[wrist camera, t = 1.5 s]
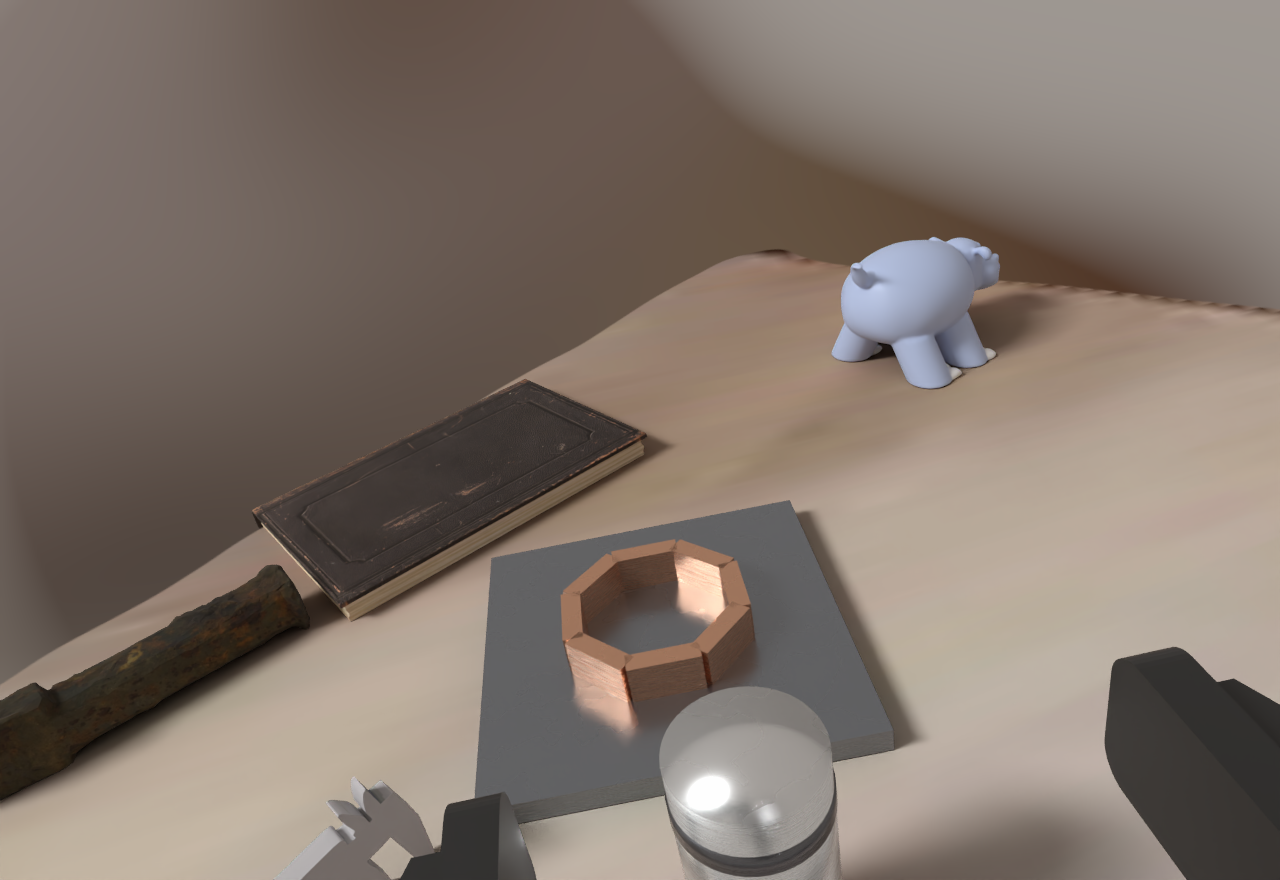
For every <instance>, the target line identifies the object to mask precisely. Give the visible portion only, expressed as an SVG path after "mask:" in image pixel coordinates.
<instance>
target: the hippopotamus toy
mask: <svg viewBox="0 0 1280 880" xmlns="http://www.w3.org/2000/svg"><path fill="white" fill-rule="evenodd" d="M998 259H999V256H998V255H997V254H992V253H991V251H990V249H989V248H987V247H982V246H980V244H979V243H978V242H975V241H973V240H970V239H967V238H955V239H951V240H949V241H947V242H944V241H942V240H940V239H938V238H936V237H932V238H930V239H929V240H913V241H905V242H900V243H896V244H893V245H889V246H887V247H884V248H882V249H880V250H878V251H876V252H874V253H872V254H871V255H869V256H868V257H867V258H865V259H864V260H863V261H861V262H860V263H854V264H853V265H852V266H851V273H850V274H849V276H848V277H847V279H846V281H845V283H844V285H843V288H842V294H841V309H842V315H843V319H844V321H845V323H844V325H843V327H842V330H841V332H840V334H839V336H838V339H837V341H836V343H835V345H834V348H833V350H832V355H833V357H834V358H836V359H838V360H841V361H847V362H856V361H862V360H865V359H868V358H869V357H870V356H871V355H874V354H877V353H878V352H880V351H881V350H882V346H880V345H879V344H878V342H880V343H885V344H890V345H891V346H892V347H893V350H894V352H895V354H896V357H897V359H898V361H899V363H900V366H901V368H902V370H903V373H904V375H905V377H906V379H907V381H908V382H909V383H910V384H912V385H914V386H917V387H920V388H927V389H933V388H940V387H943V386H946V385H948V384H949V383H950V382H951V381H952V380H953V379H955V378H957V377H958V376H960V375H961V374H962V372H961V371H960V370H959V369H958V368H952V367H950V366H949V365H948V364H950V365H952V366H956V367H963V368H972V367H978V366H981V365H983V364H985V363H986V362H987V360H990V359H992V358H994V357H995V355H996V352H995V351H993V350H992V349H990V348H984V347H983V346H982V344H981V341H980V339H979V337H978V334H977V332H976V330H975V327H974V325H973V323H972V320H971V318H970V316H969V313H968V312H967V310H968V309H969V307H970V305H971V302H972V299H973V296H974V291H976V290H980V289H984V288H988V287H990V286H992V285H994V284H996V283H997V282H998V275H999V269H1000V265H999V263H998ZM945 362H946V363H948V364H946V363H945Z"/></svg>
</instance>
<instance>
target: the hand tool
mask: <svg viewBox="0 0 1280 880" xmlns="http://www.w3.org/2000/svg"><path fill="white" fill-rule="evenodd" d="M309 620H310V617H309V616H308V614H307V611H306V607H305V606H304V604H303V601H302V599H301V596H300V594H299V592H298V591H297V589H296V587H295V585H294V583H293V582H292V581H291V579H290V578H289V577H288V575H287V574H286V573H285V571H284V570H283V568H282V567H281V566H279V565H267V566H265V567H264V568H263V569H262V570H261V571H260V572H259V573H258V575H257V576H256V577H255V578H253V579H251V580H249V581H248V582H247V583H246V584H244V585H242V586H240V587H239V588H237V589H236V590H233V591H231V592H229V593H227V594H225V595H223V596H221V597H217V598H215V599H214V600H212V601H211V602H210V603H208V604H206V605H202V606H200V607H198V608H196V609H194V610H193V611H189V612H186V613H184V614H182V615H181V616H177V617H175V619H174V620H173V621H172V622H171V623H170V624H169V626H168V627H165V628H163V629H161V630H159V631H157V632H156V633H154V634H152V635H150V636H148V637H147V638H145V639H143V640H141V641H139V642H137V643H135V644H134V645H132V646H130V647H129V648H127V649H125V650H123V651H121V652H119V653H117V654H115V655H114V656H112V657H110V658H108V659H106V660H104V661H102V662H100V663H98V664H96V665H94V666H92V667H90V668H88V669H86V670H84V671H83V672H81V673H78V674H75V675H73V676H72V677H71V678H69V679H67V680H66V681H62V682H59V683H57V684H55V685H53V686H52V688H51V689H50V690H46V689H44V688H42V687H41V686H39V685H38V684H37V683H32V684H30V685H28V686H26V687H24V688H22V689H19V690H17V691H16V692H14V693H13V694H11V695H9V696H8V697H6V698H5V699H3V700H0V800H2V799H4V798H6V797H8V796H9V795H11V794H13V793H15V792H18V791H20V790H21V789H23V788H25V787H27V786H29V785H31V784H33V783H35V782H37V781H40V780H42V779H44V778H46V777H48V776H50V775H52V774H55V773H57V772H59V771H61V770H63V769H64V768H66V767H67V766H69V765H70V764H71V763H73V761H74V758H75V756H76V753H77V752H78V751H79V750H80V749H81V748H83V747H85V746H86V745H87V744H89V743H90V742H91V741H93V740H94V739H95V738H97V737H99V736H101V735H103V734H104V733H106V732H108V731H109V730H111V729H112V728H114V727H116V726H118V725H120V724H122V723H124V722H126V721H127V720H129V719H131V718H132V717H134V716H136V715H137V714H139V713H141V712H144V711H146V710H149V709H151V708H153V707H154V706H155V705H157V704H158V703H159V702H160V701H161V700H163V699H164V698H166V697H168V696H170V695H172V694H173V693H175V692H177V691H179V690H181V689H182V688H184V687H186V686H188V685H190V684H191V683H193V682H194V681H196V680H198V679H200V678H202V677H204V676H206V675H207V674H209V673H211V672H213V671H215V670H216V669H218V668H220V667H222V666H223V665H225V664H227V663H229V662H230V661H232V660H234V659H236V658H238V657H240V656H241V655H243V654H245V653H247V652H249V651H251V650H252V649H254V648H256V647H258V646H260V645H262V644H264V643H265V642H267V641H268V640H269V639H271V638H272V637H273V636H275V635H277V634H279V633H281V632H282V631H284V630H286V629H288V628H290V627H300V628H302V629H307V628H309Z"/></svg>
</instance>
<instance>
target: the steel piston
mask: <svg viewBox="0 0 1280 880" xmlns="http://www.w3.org/2000/svg"><path fill="white" fill-rule="evenodd" d="M659 763H660V770H661V775H662V779H663V783H664V788H665V800H666V805H667V809H668V814H669V818H670V822H671V826H672V829H673V831H674V833H675V837H676V842H677V846H678V851H679V855H680V860H681V864H682V869H683V873H684V878H685V880H842V870H841V858H840V846H839V835H838V823H837V791H836V780H835V773H834V770H833V764H832V752H831V743H830V739H829V735H828V732H827V730H826V728H825V726H824V724H823V723H822V721H821V720H820V718H819V717H818V716H817V714H816V713H815V712H814V711H813V710H812V709H811V708H810V707H808V706H807V705H806V704H805V703H803V702H802V701H800V700H799V699H797V698H795V697H793V696H791V695H789V694H786V693H784V692H781V691H778V690H774V689H770V688H764V687H754V686H744V687H733V688H727V689H723V690H719V691H716V692H713V693H710V694H708V695H706V696H703V697H701V698H699V699H698V700H696V701H694V702H693V703H691V704H690V705H688V706H687V707H686V708H685V709H683V710H682V711H681V712H680V713H679V714H678V715H677V716H676V717H675V719H674V720H673V721H672V722H671V724H670V725H669V727H668V729H667V730H666V732H665V734H664V737H663V739H662V743H661V746H660V753H659Z"/></svg>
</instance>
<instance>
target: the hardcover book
mask: <svg viewBox="0 0 1280 880" xmlns="http://www.w3.org/2000/svg"><path fill="white" fill-rule="evenodd" d="M646 437H647V435H646V433H644V432H641V431H639V430H637V429H635V428H633V427H630V426H628V425H626V424H624V423H622V422H619V421H617V420H615V419H613V418H611V417H608V416H606V415H604V414H602V413H599V412H597V411H595V410H593V409H591V408H588V407H586V406H584V405H582V404H580V403H577V402H575V401H573V400H571V399H569V398H566V397H564V396H562V395H560V394H557V393H555V392H553V391H551V390H549V389H546V388H544V387H542V386H540V385H538V384H535V383H533V382H531V381H529V380H527V379H524V380H522V381H520V382H518V383H516V384H514V385H512V386H510V387H508V388H505V389H503V390H501V391H499V392H497V393H495V394H493V395H491V396H489V397H487V398H485V399H482V400H480V401H478V402H476V403H474V404H472V405H470V406H468V407H466V408H464V409H462V410H460V411H457V412H455V413H453V414H451V415H449V416H447V417H445V418H443V419H441V420H439V421H437V422H434V423H432V424H430V425H428V426H426V427H424V428H422V429H420V430H418V431H416V432H414V433H412V434H409V435H407V436H405V437H403V438H401V439H399V440H397V441H395V442H393V443H391V444H388V445H386V446H384V447H382V448H380V449H378V450H376V451H374V452H372V453H370V454H368V455H366V456H363V457H361V458H359V459H357V460H355V461H353V462H351V463H349V464H347V465H345V466H343V467H340V468H338V469H336V470H334V471H332V472H330V473H328V474H326V475H324V476H322V477H320V478H318V479H315V480H313V481H311V482H309V483H307V484H305V485H303V486H301V487H299V488H297V489H294V490H293V491H290V492H288V493H286V494H284V495H282V496H280V497H278V498H276V499H274V500H272V501H269V502H267V503H265V504H263V505H261V506H259V507H257V508H255V509H253V510H252V513H253V516H254V518H255V521H256V523H257V525H258V527H259V529H261V528H263V527H264V528H265V529H266V530H267V531H268V532H269V533H270V534H271V535H272V536H273V537H274V539H275V540H276V541H277V542H278V543H279V544H280V545H281V546H282V547H283V548H284V549H285V551H286V552H287V553H288V554H289V555H290V556H291V557H292V558H293V559H294V560H295V561H296V563H297V564H298V565H299V566H300V567H301V568H302V569H303V570H304V571H305V572H306V574H307V575H308V576H309V577H310V578H311V579H312V580H313V581H314V582H315V583H316V584H317V586H318V587H319V588H320V589H321V590H322V591H323V592H324V593H325V594H326V595H327V596H328V598H329V599H330V600H331V601H332V602H333V603H334V604H335V605H336V606H337V607H338V608H339V610H340V611H341V612H342V613H343V614H344V615H345V616H346V617H347V618H348V619H349V620H350V622H352V621H353V620H355V619H357V618H359V617H360V616H362V615H364V614H366V613H367V612H369V611H371V610H373V609H374V608H376V607H378V606H380V605H381V604H383V603H385V602H387V601H388V600H390V599H392V598H394V597H395V596H397V595H399V594H401V593H402V592H404V591H406V590H408V589H409V588H411V587H413V586H415V585H416V584H418V583H420V582H422V581H423V580H425V579H427V578H429V577H430V576H432V575H434V574H436V573H437V572H439V571H441V570H443V569H444V568H446V567H448V566H450V565H451V564H453V563H455V562H457V561H458V560H460V559H462V558H464V557H465V556H467V555H469V554H471V553H472V552H474V551H476V550H478V549H479V548H481V547H483V546H485V545H486V544H488V543H490V542H492V541H493V540H495V539H497V538H499V537H500V536H502V535H504V534H506V533H507V532H509V531H511V530H513V529H514V528H516V527H518V526H520V525H521V524H523V523H525V522H527V521H528V520H530V519H532V518H534V517H535V516H537V515H539V514H541V513H542V512H544V511H546V510H548V509H549V508H551V507H553V506H555V505H556V504H558V503H560V502H562V501H563V500H565V499H567V498H569V497H570V496H572V495H574V494H576V493H577V492H579V491H581V490H582V489H584V488H586V487H588V486H589V485H591V484H593V483H595V482H596V481H598V480H600V479H602V478H603V477H605V476H607V475H609V474H610V473H612V472H614V471H616V470H617V469H619V468H621V467H623V466H624V465H626V464H628V463H630V462H631V461H633V460H635V459H637V458H638V457H640V456H642V455H644V452H643V449H644V446H643V445H642V444H641V442H642V441H641V440H642V439H644V438H646Z"/></svg>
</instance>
